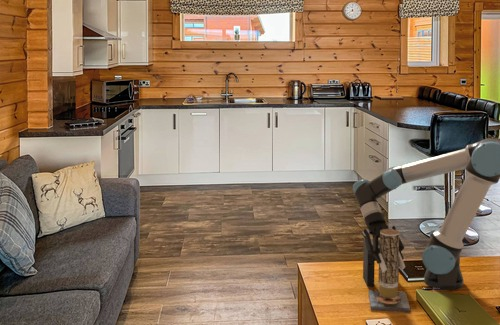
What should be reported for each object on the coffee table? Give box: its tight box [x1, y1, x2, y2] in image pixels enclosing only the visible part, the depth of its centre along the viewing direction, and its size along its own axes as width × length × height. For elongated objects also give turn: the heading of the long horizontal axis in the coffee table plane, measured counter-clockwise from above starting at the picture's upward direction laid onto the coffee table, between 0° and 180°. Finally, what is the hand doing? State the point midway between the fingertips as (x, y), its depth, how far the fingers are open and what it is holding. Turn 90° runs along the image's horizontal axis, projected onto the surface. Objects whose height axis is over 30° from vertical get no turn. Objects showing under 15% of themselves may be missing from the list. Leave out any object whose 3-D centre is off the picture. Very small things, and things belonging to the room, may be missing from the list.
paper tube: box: [378, 229, 400, 298], centre depth 184 cm, size 7×7×25 cm
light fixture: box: [362, 237, 400, 288], centre depth 204 cm, size 10×14×18 cm
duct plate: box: [368, 289, 411, 313], centre depth 187 cm, size 14×14×2 cm
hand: (393, 269), depth 181 cm, fingers closed on paper tube, 7 cm apart
